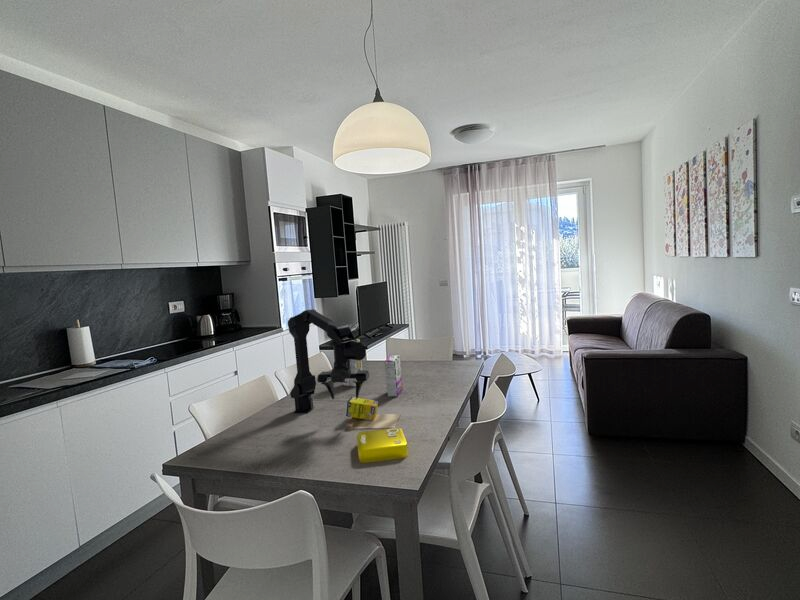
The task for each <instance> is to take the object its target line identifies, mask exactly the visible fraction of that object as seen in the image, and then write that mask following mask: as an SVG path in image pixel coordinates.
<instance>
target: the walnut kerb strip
mask: <svg viewBox="0 0 800 600" xmlns="http://www.w3.org/2000/svg"><path fill="white" fill-rule="evenodd" d="M358 419H359V418H354V417H351V418H350V420H349V421H348V423H347V424H346V425H345V429H346V430H345V431H352V430H353V429H352V428H353V426H354V425H355V423H356V422H357V420H358Z"/></svg>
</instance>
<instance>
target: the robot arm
mask: <svg viewBox="0 0 800 600" xmlns="http://www.w3.org/2000/svg"><path fill="white" fill-rule="evenodd" d="M311 324H313V325H314V326H316V327H318V328H319V329H321V330H323V331H324V332H325V333H326V336H327V337H328V338H329V339H330V340H331V342H330V343H329V344H328V345H329V346H330V347H333V357H334V362H333V368H332V370H331V371H330V370H329V371H322V372H320V373H319V374H318V375H317V378H316V376H315V375H314V374H313V373H311V371H310V360H309V352H308V351H309V350H308V340H307V336H308V335H309V332H310V326H311ZM287 327H288V331H289V334H290V335H291V336H292V337H293V339H294V340H293V343H294V353H295V361H296V362H295V363H296V372H297V373H296V375H295V377H294V380H293V381H294V382H293V388H292V389H291V391H289V394H290V397H291V399H294V408H295V409H294V411H293V413H295V414H296V413H299V414H300V413H302V414H304V413H310V412H311V411H312V410H313V409H314V407H315V406H314V400H313V397H312V395H314V394H315V392H316V386H317V383H321V385H324V386H325V387H326V388H327V390H328V392H329V395H330V397H331V399H332V400H335V396H336V395H335V394H336V393H335V386H334V383H343V382H344V381H345V379H353V378H356V380H357V381H356V382H355V384H356V386H355V397H356V399H358V398H359V395H360V392H361V389H362V386H363V384H364V383H365V382H366V381H368V380H369V378H370V372H369V370H366V369H365V370H363V369H362V371H358V372H357V373H351V368H350V361H351V359H352V360H361V361H363V360H364V359H365V358H366V354H367V349H366V347H365V346H364V345H363V344H362V341H361V340H360V341H357V340H356V339H357V338H356V336H355V335H354V333H353V331H352V329H351V328H350V325H348V324H347V323H344V322H341V321H334V320H332V319H330V318H328V317H327V316H325V315H323V314H321V313H320V312H318V311H317V310H316V309H313V308H312V309H306V310H305V309H304V311H302V312H300V313H299V314H296V315H295V316H291V317H290V318H288V321H287ZM316 379H317V382H316Z"/></svg>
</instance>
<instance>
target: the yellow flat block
mask: <svg viewBox="0 0 800 600" xmlns="http://www.w3.org/2000/svg"><path fill="white" fill-rule="evenodd" d="M356 442H357V445H356V446H357V455H358V461H359V462H360V463H363V464H364V463H365V464H366V463H374V462H375V463H376V462H382V461H390V460H392V461H393V460H399V459H405V458H407V457H408V456H409V451H408V442H407V439H406V436H405V434H404V431H403V429H402V428H400V427H395V428H392V429H373V430H367V431H360V432H357V434H356Z"/></svg>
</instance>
